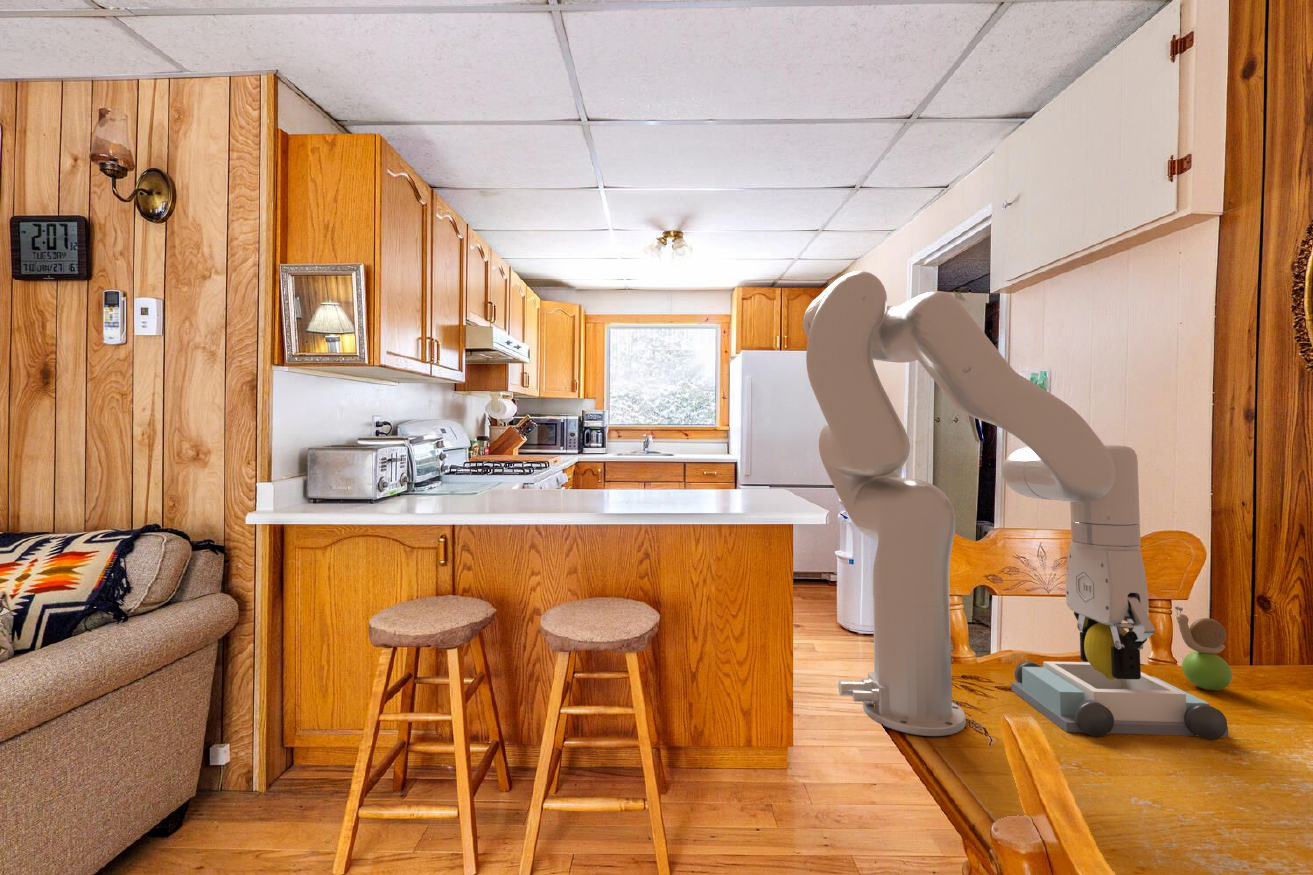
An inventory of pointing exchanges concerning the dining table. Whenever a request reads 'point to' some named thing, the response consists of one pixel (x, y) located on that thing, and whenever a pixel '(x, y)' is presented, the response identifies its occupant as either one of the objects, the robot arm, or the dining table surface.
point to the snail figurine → (1204, 653)
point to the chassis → (1114, 702)
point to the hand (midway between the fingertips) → (1109, 668)
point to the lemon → (1100, 648)
